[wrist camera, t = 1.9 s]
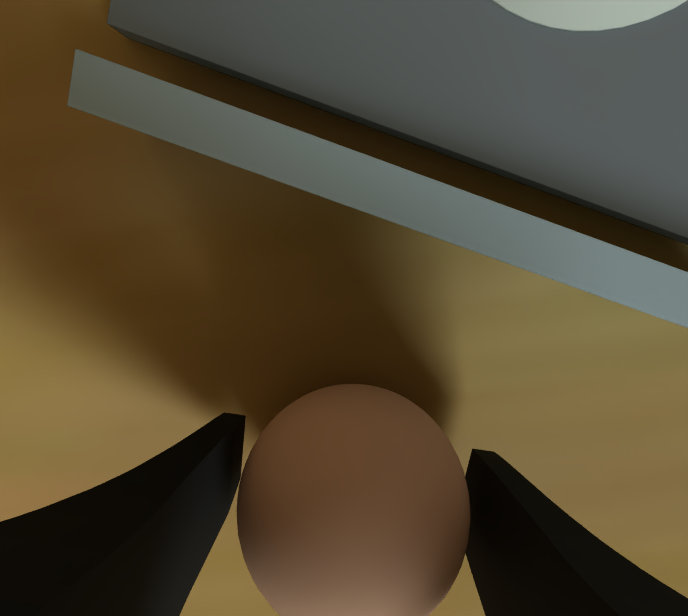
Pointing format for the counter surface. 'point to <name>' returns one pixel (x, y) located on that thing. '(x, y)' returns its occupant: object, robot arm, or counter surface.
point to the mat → (473, 82)
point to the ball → (353, 507)
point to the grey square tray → (375, 187)
